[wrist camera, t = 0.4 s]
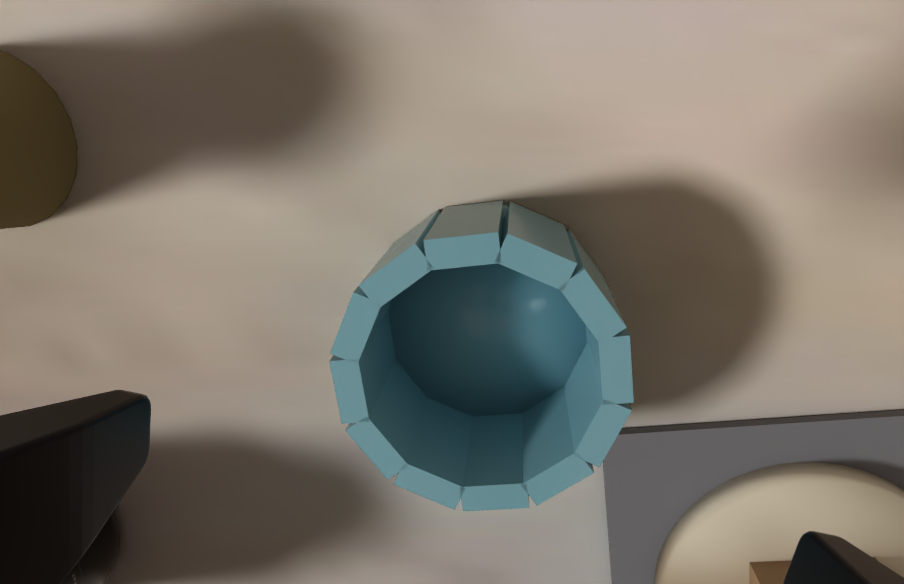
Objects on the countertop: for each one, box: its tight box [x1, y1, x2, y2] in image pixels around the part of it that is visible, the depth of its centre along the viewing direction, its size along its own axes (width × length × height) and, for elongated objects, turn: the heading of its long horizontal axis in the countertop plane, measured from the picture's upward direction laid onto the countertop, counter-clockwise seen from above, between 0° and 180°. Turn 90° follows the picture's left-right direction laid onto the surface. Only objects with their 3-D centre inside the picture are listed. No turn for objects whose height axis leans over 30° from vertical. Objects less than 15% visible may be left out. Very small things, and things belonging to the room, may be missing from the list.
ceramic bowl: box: [329, 200, 634, 511], centre depth 20 cm, size 8×8×5 cm
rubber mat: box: [603, 410, 904, 584], centre depth 24 cm, size 13×13×1 cm
